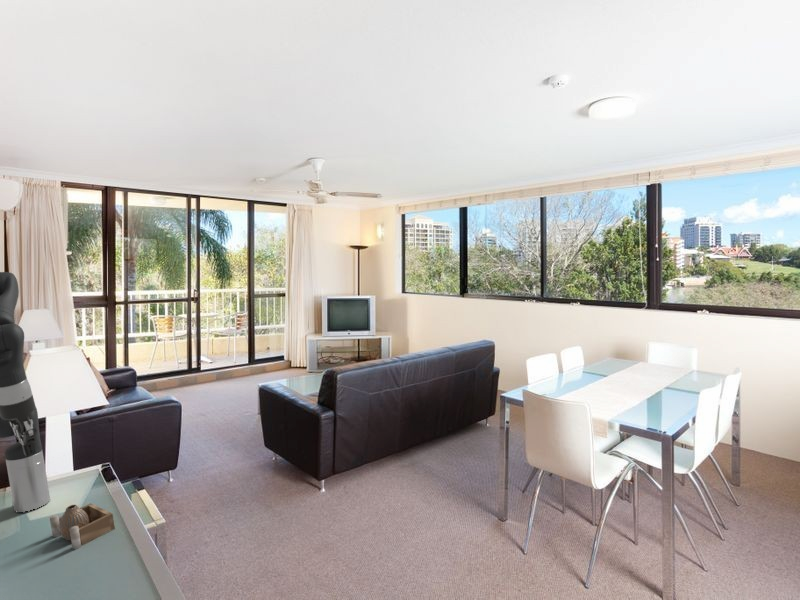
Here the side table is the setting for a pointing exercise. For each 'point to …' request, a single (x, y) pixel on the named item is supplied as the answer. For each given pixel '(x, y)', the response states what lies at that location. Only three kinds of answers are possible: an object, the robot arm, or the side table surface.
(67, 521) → the vase
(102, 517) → the housing
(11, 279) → the robot arm
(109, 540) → the side table surface
